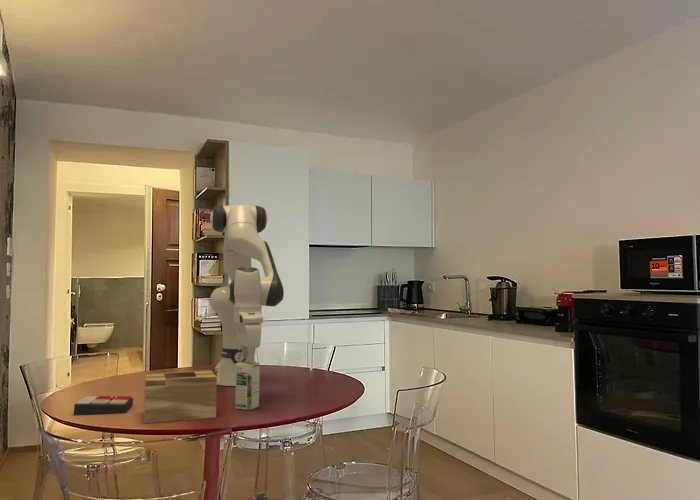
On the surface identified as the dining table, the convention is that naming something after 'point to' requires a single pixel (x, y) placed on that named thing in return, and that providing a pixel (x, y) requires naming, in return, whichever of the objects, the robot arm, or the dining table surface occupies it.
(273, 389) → the dining table surface
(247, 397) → the syrup box
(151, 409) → the posting box
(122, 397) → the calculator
